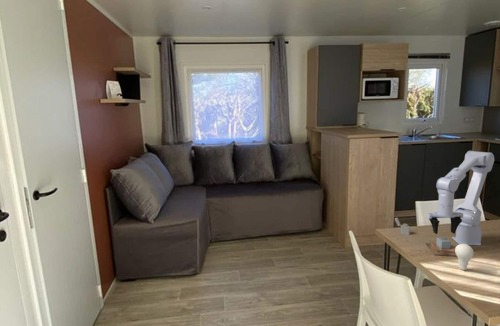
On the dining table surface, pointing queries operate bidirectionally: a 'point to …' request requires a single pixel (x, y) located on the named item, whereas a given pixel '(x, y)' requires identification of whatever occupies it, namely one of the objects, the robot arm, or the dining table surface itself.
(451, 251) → the base plate
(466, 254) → the lightbulb
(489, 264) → the dining table surface
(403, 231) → the lighter
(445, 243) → the block
